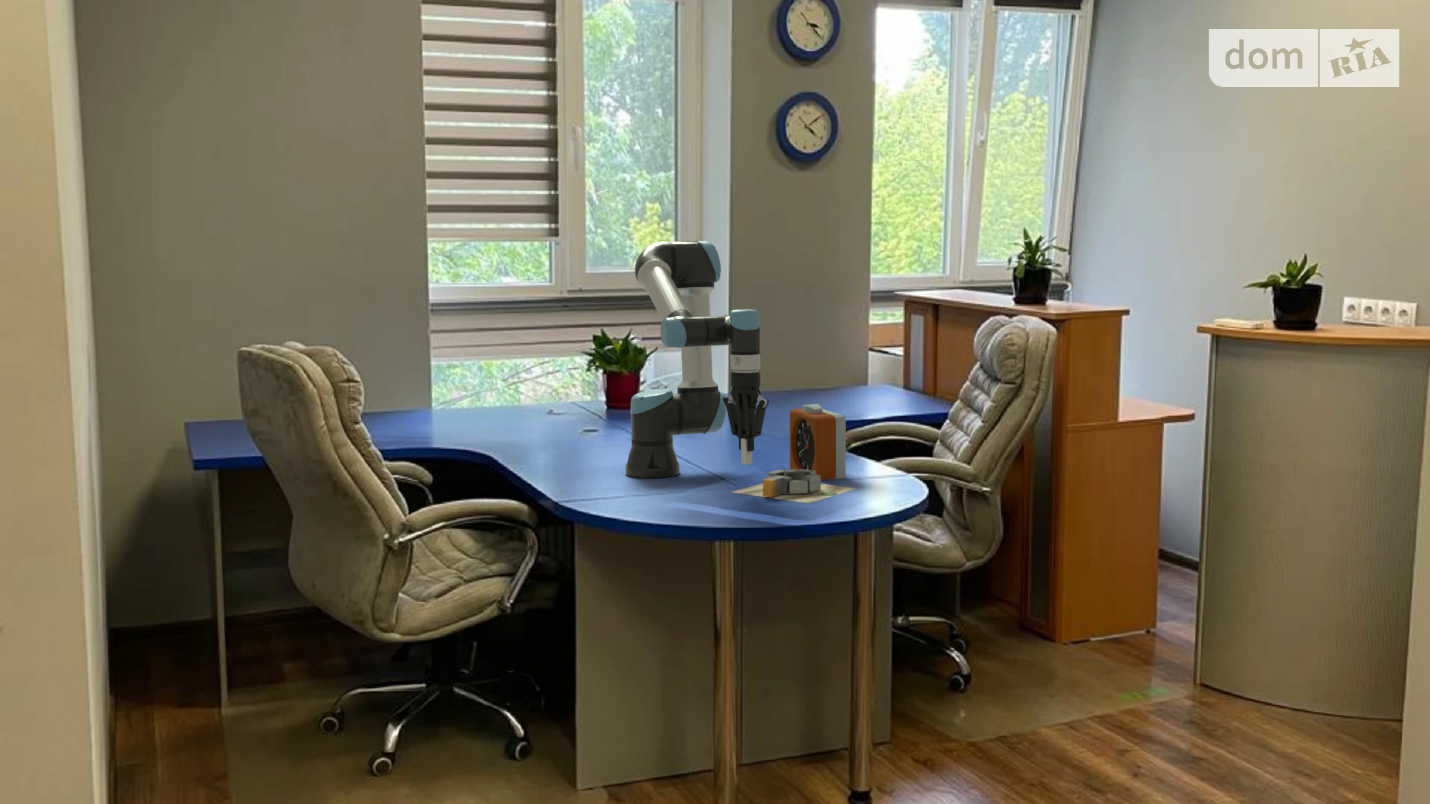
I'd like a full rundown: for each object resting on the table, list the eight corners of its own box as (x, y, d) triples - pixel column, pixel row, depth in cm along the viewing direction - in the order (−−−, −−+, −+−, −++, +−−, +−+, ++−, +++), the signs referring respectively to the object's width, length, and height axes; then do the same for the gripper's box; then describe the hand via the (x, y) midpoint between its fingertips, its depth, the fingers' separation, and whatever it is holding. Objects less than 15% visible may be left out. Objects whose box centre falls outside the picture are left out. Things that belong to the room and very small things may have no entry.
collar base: (730, 497, 343) (730, 472, 343) (780, 483, 361) (780, 460, 360) (809, 509, 329) (809, 483, 328) (856, 494, 346) (856, 469, 345)
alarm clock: (788, 474, 375) (788, 400, 372) (817, 471, 378) (817, 399, 375) (817, 486, 358) (816, 409, 355) (846, 483, 361) (846, 407, 358)
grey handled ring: (787, 481, 354) (787, 466, 353) (829, 487, 346) (829, 471, 345) (746, 493, 339) (746, 477, 339) (788, 499, 331) (788, 483, 331)
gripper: (715, 371, 339) (717, 463, 342) (757, 373, 331) (758, 468, 334) (733, 368, 345) (735, 459, 347) (775, 370, 337) (776, 463, 340)
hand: (746, 463), depth 341 cm, fingers closed
